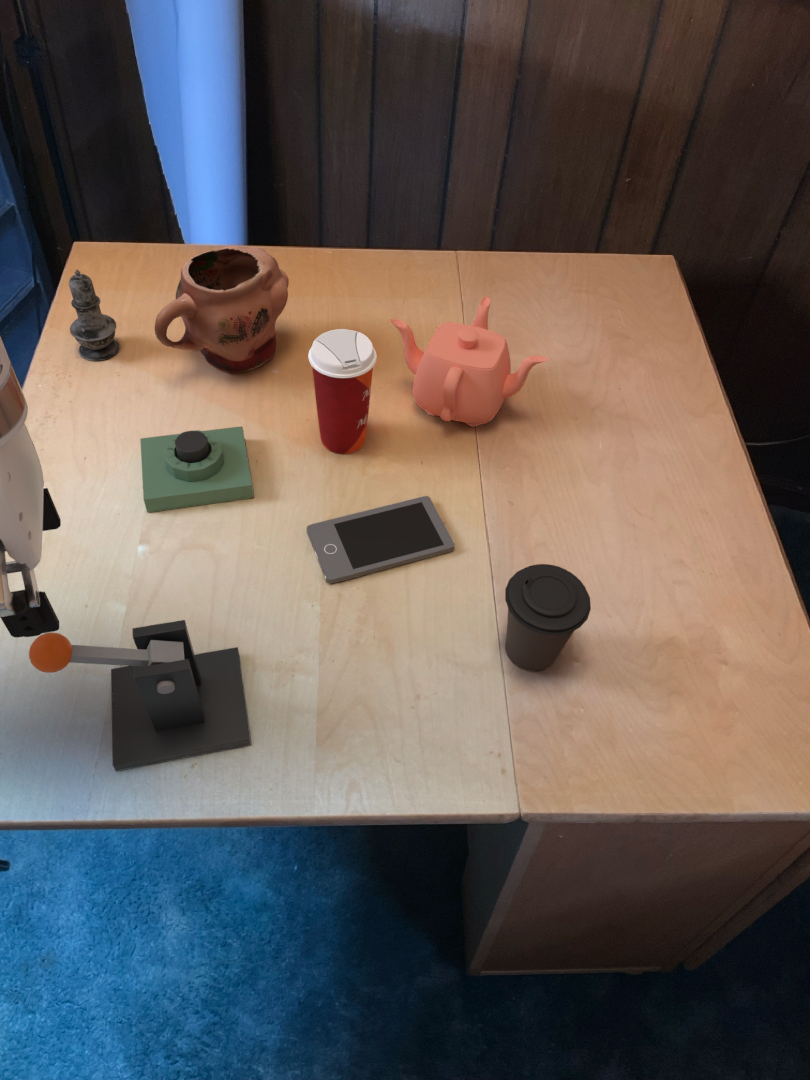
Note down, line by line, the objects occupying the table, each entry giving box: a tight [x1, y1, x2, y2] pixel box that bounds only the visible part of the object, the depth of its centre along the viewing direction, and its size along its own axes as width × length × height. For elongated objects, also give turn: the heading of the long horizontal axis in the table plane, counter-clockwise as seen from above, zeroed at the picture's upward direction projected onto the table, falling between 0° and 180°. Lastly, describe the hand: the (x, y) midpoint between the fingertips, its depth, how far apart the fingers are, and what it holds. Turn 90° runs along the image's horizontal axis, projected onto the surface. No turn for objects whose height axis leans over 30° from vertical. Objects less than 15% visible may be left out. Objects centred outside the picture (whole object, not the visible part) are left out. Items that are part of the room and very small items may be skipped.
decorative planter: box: [154, 245, 290, 374], centre depth 104 cm, size 20×12×14 cm, turn 141°
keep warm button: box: [175, 430, 209, 463], centre depth 92 cm, size 4×4×2 cm
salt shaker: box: [68, 269, 121, 362], centre depth 104 cm, size 6×6×12 cm
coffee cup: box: [504, 563, 592, 673], centre depth 78 cm, size 8×8×10 cm
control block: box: [139, 426, 255, 513], centre depth 94 cm, size 12×10×4 cm
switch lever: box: [28, 631, 185, 674], centre depth 67 cm, size 12×3×3 cm, turn 104°
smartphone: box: [306, 495, 455, 584], centre depth 90 cm, size 15×8×1 cm, turn 111°
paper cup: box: [307, 328, 378, 455], centre depth 95 cm, size 8×8×14 cm
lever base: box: [110, 619, 252, 772], centre depth 72 cm, size 12×10×11 cm
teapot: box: [389, 296, 549, 427], centre depth 102 cm, size 14×14×11 cm
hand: (38, 577), depth 60 cm, fingers open, 9 cm apart
